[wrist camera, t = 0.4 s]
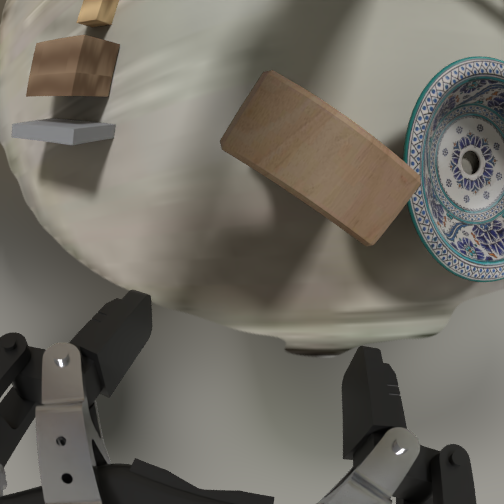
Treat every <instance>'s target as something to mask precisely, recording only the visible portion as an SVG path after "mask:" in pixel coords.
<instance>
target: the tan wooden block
mask: <svg viewBox="0 0 504 504" xmlns="http://www.w3.org/2000/svg"><path fill="white" fill-rule="evenodd" d="M118 2H119V0H84V1H83V4H82V7H81V10H80V14H79V17H78V20H77V23H79V24H83V25H86V26H90V27H96V26H104V25H112V21H113V18H114V15H115V11H116V8H117V5H118Z"/></svg>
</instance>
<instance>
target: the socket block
mask: <svg viewBox="0 0 504 504" xmlns="http://www.w3.org/2000/svg"><path fill="white" fill-rule="evenodd" d="M119 46H120V44H116V43H113V42H109V41H106V40H102V39H99V38H95V37H91V36H87V35H80V36H73V37H66V38H60V39H55V40H50V41H45V42H40V43H37V44H36V48H35V52H34V57H33V61H32V66H31V71H30V76H29V82H28V88H27V94H26V97H27V96H105V97H108V95H109V90H110V85H111V80H112V75H113V71H114V66H115V62H116V58H117V54H118V50H119Z"/></svg>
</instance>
